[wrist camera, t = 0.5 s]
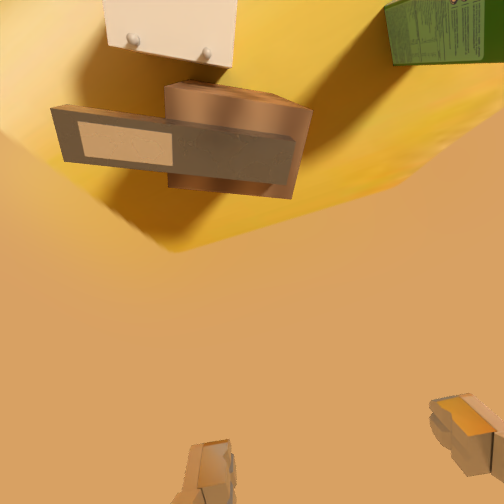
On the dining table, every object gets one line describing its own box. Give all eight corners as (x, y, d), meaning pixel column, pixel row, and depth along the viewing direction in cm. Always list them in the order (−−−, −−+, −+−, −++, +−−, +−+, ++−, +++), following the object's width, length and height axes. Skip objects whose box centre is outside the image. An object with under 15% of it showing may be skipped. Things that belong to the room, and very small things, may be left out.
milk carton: (393, 66, 47) (527, 62, 26) (383, 6, 42) (539, -55, 21) (443, 36, 45) (629, 6, 25) (439, -31, 40) (669, -137, 20)
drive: (78, 153, 27) (63, 161, 24) (66, 104, 24) (49, 108, 22) (280, 176, 30) (286, 185, 28) (289, 135, 28) (296, 142, 25)
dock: (142, 53, 42) (102, 43, 27) (136, -25, 37) (83, -87, 22) (227, 68, 44) (232, 67, 30) (233, -3, 39) (241, -46, 25)
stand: (188, 140, 50) (168, 187, 30) (189, 79, 45) (164, 86, 24) (263, 150, 53) (291, 199, 32) (272, 93, 47) (313, 110, 27)
